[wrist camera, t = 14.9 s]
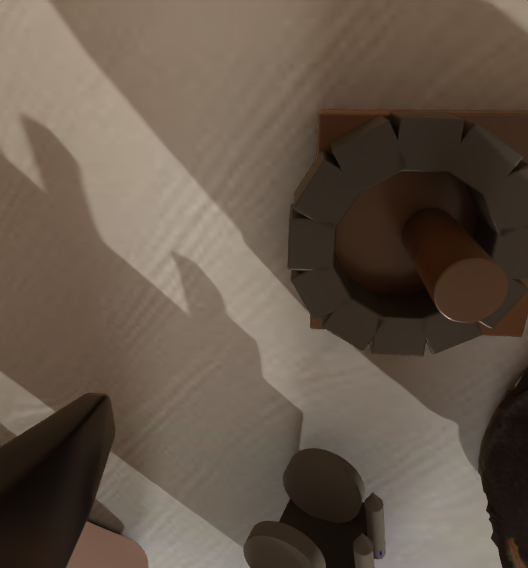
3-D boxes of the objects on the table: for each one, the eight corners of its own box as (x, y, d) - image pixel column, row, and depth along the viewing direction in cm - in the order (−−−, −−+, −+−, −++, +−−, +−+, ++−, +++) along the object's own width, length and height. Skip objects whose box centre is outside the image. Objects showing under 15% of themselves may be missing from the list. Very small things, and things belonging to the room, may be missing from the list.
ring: (286, 323, 20) (284, 349, 18) (294, 109, 16) (292, 115, 15) (494, 333, 19) (514, 361, 18) (547, 114, 16) (578, 120, 14)
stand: (309, 315, 21) (311, 407, 15) (318, 109, 17) (323, 130, 12) (511, 323, 20) (588, 421, 15) (562, 110, 17) (689, 133, 11)
